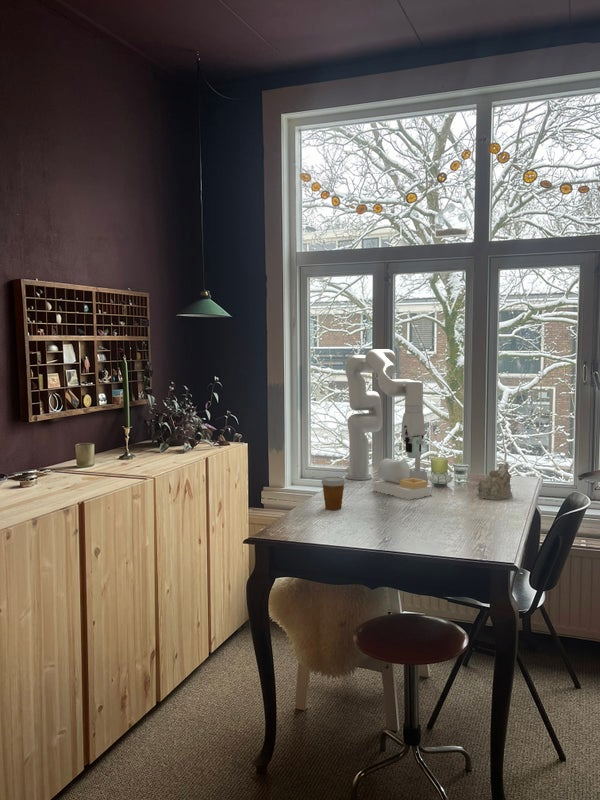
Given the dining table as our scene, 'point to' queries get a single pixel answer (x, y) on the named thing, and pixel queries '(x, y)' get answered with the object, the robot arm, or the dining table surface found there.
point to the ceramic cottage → (496, 484)
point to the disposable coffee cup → (333, 492)
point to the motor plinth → (400, 480)
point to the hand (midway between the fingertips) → (413, 451)
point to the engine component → (418, 471)
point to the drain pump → (415, 447)
